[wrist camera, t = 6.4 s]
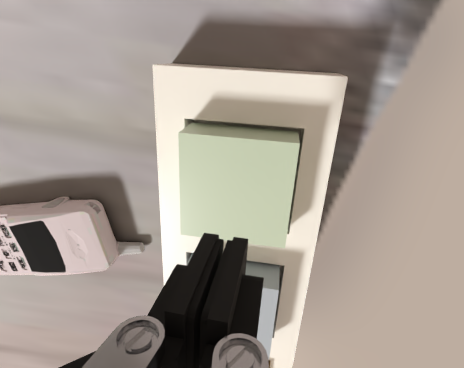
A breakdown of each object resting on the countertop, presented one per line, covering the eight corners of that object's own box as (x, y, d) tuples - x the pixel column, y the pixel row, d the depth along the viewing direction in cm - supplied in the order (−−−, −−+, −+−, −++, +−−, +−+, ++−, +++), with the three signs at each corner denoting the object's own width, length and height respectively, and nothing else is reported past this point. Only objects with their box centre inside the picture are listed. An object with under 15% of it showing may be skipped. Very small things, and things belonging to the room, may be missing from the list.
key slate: (192, 251, 21) (181, 275, 19) (279, 263, 20) (278, 290, 18) (192, 315, 23) (182, 344, 21) (270, 328, 23) (269, 359, 20)
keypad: (171, 63, 19) (152, 64, 16) (338, 73, 18) (348, 76, 15) (180, 381, 31) (170, 413, 28) (279, 400, 30) (279, 435, 27)
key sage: (192, 122, 17) (178, 132, 15) (297, 131, 17) (299, 143, 14) (192, 213, 20) (180, 234, 18) (284, 225, 19) (284, 248, 17)
